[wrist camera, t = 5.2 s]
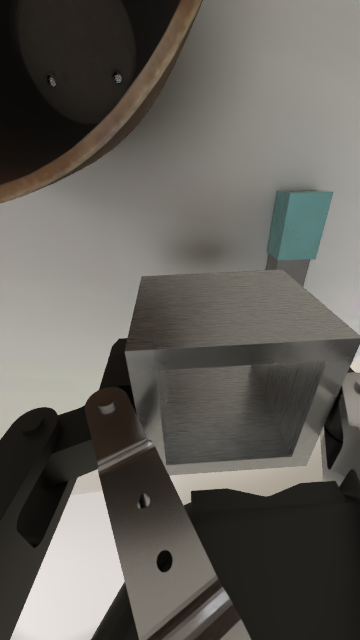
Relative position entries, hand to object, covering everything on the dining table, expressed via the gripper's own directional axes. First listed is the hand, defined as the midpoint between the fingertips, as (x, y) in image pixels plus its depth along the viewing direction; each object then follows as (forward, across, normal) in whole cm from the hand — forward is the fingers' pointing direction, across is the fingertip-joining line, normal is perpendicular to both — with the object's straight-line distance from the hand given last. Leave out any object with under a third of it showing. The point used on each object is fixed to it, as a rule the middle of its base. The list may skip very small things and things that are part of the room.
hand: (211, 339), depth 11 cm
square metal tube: (+1, 0, 0) cm, 1 cm away
